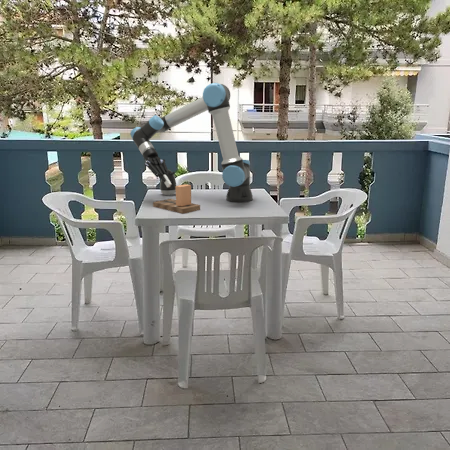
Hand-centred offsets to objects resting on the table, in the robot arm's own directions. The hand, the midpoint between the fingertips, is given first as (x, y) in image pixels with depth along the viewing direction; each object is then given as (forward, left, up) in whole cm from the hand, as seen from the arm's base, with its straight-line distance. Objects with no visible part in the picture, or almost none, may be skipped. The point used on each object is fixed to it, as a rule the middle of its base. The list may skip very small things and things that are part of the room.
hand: (169, 185), depth 236 cm
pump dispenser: (+17, -28, -12) cm, 35 cm away
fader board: (-5, +2, -11) cm, 13 cm away
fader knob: (-10, +4, -9) cm, 14 cm away
